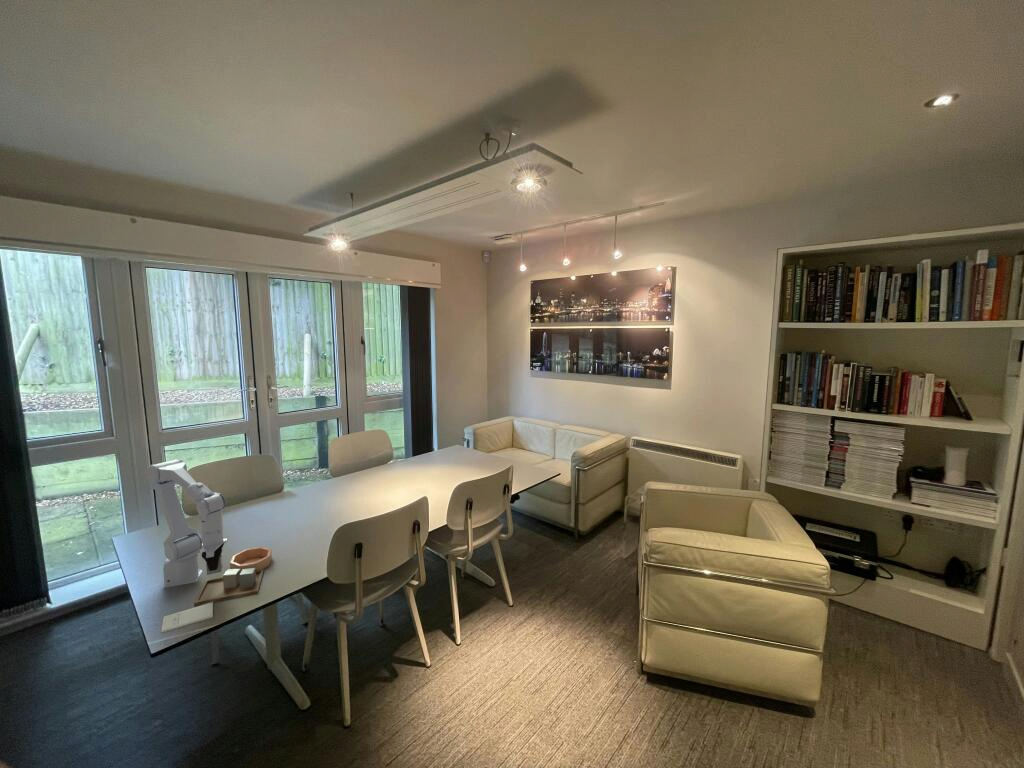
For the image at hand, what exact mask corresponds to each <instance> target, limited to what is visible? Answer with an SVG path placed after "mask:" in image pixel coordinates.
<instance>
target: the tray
mask: <svg viewBox="0 0 1024 768" xmlns="http://www.w3.org/2000/svg"><path fill="white" fill-rule="evenodd" d="M264 573H265V571H264V569H262V570H258V571H255V574H256V581H255V583H254V585H253V586H252V587H245V588H240V583H239V585H238V586H237V587H236V588H224V586H223V576H219V577H214V578H207V579H205V580H204V582H203V584H202V586H201V588H200V589H199V592H198V594H197V596H196V598H195V600H194V602H193V606H197V605H199V606H200V605H205V604H208V603H212V602H213V603H214V602H219V601H224V600H229V599H234V598H239V597H243V596H244V597H245V596H250V595H255V594H258V593H259V591H260V587H261V584H262V579H263V576H264Z"/></svg>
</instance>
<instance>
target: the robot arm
mask: <svg viewBox="0 0 1024 768" xmlns="http://www.w3.org/2000/svg"><path fill="white" fill-rule="evenodd" d="M145 477H146V479H147V482H148V485H149V487H150V489H151V490H155V491H156V495H157V498H158V500H159V502H160V506H161V509H162V512H163V515H164V518H165V520H166V524H167V525H168V529H169V531H170V534H169V535H168V536H167V538H165V540H164V542H163V548H164V555H165V557H166V559H165V561H164V563H163V568H162V569H163V589H164V588H171V587H176V586H181V585H188V584H193V583H197V582H198V580H199V579H200V577H201V574H202V573H203V569H199V556H198V555H199V553H200V552H201V550H202V549H203V550H204V551H202V553H200V554H201V557H202V559H203V560H204V561H205V562H206V563H207V565H208V568H209V571H213V570H217V568H218V562H219V557H220V555H221V554H222V553H223V547H224V545H225V544H226V543H228V538H224V532H223V531H224V530H223V528H224V526H223V513H222V512H223V510H224V509H225V508H226V498H225V496H224V495H223V494H222V493H220V492H216V491H215V492H214V491H212V490H211V489H210V488H209V487H208V486H206V485H205V484H204V483H203V482H199V481H198V482H196V480H195V479H194V478H193V477H192V476H191V475H190V474H189V472H188V467H187V463H186V462H185V460H184V459H182V458H176V459H172V460H168V461H163V462H159V463H156V464H150V465H149V466H147V468H146V472H145ZM176 484H177V485H179V486H180V487H181V488H183V489H184V490H185V496H186V497H187V498H188V499H190V501H191V502H193V504H195V505H196V506H195V508H196V511H197V513H198V518H199V520H200V521H201V522H200V523H201V534H200V532H199V530H198V529H197V528H195V527H189V525H188V523H187V519H186V517H185V513H184V511H183V508H182V505H181V502H180V499H179V497H178V493H177V492H176V488H175V487H176ZM178 539H179V540H178Z"/></svg>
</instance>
